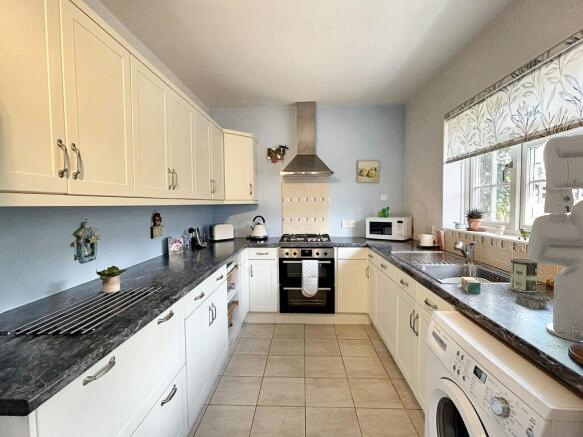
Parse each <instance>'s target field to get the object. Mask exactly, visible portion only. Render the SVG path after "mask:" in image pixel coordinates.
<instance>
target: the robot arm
mask: <svg viewBox="0 0 583 437" xmlns="http://www.w3.org/2000/svg"><path fill="white" fill-rule="evenodd" d="M540 163H541V164H540V165H541V167H542V172H543V176H544V180H545V199H544V206H543V207H544V210H543V213H541V214H539V215H537V217H535V218H534V220H533V222H532V226H531V230H530V234H529V238H528V242H527V247H526V254H527V257H528V260H531V261H533V262H535V263H538V264H541V265H543V264H544V265H552V266H561V267H563V268H562V269H561V270H560V271H559V272H557V274H556V275H555V277H554V281H553V282H554V283H553V287H554V288H553V308H552V309H553V310H552V322H550V323H548V324H546V327H545V329H546V330H547V332H549V333H550V334H552V335H553V336H557V337H559V338H562V339H565V340H568V341H573V342H577V343H581V342H580V341H583V196H582V197H580V198H578V200H576V201H575V200H574V193H573V189H574V190H576V189H577V190H578V189H583V134H582V133H581V134H572V135H564V136H554V137H552V138H549V139H548V140H546V141H545V143H543V145H542V147H541V150H540Z"/></svg>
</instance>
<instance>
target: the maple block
mask: <svg viewBox="0 0 583 437" xmlns="http://www.w3.org/2000/svg"><path fill="white" fill-rule="evenodd" d="M460 282H461V284H460V285H461V288H462V289H463V290H465V292H467V293H469V294H470V293H472V294H481V282H480V281H479V280H477V279H475V277H471V276H461V280H460Z"/></svg>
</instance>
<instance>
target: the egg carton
mask: <svg viewBox="0 0 583 437" xmlns="http://www.w3.org/2000/svg"><path fill="white" fill-rule="evenodd" d="M513 293H514V295H515V299H514V301H515V302H516V303H521V305H523V306H528V308H529V309H530V308H531V309H536V310H539V309H544V310H546V309H548V302H550V298H548V297H547V298H546V297H543V298H542V297H537V296H531V295H530V294H528V293H527V294H525V293H516V292H513Z"/></svg>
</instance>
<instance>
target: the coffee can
mask: <svg viewBox="0 0 583 437" xmlns="http://www.w3.org/2000/svg"><path fill="white" fill-rule="evenodd" d="M509 260H510V261H509V262H510V271H509V273H510V277H509V279H510V284H509V289H510V290H513V291H515V292H522V293H530V294H531V293H532V294H533V293H537V292H538V290H537V289H538V288H537V287H538V286H537V285H538V265H539V263H535V262H533V261H531V260H530V259H524V258H511V259H509Z"/></svg>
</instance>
